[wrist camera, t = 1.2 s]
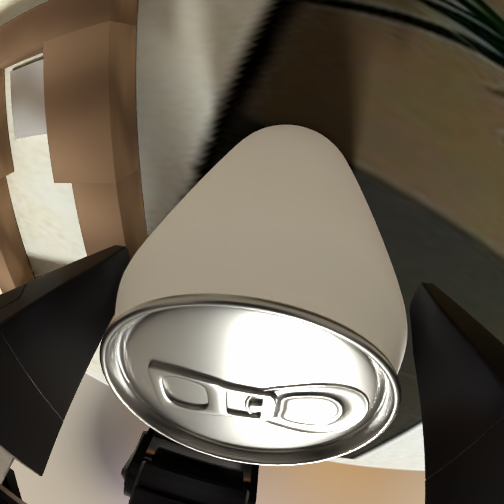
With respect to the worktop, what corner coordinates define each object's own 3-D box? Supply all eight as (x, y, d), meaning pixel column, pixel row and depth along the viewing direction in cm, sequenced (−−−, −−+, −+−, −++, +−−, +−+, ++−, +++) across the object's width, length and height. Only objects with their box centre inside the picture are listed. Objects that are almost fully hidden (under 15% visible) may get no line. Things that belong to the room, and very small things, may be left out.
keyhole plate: (162, 322, 22) (149, 347, 20) (21, 286, 24) (6, 301, 22) (139, -15, 10) (113, -25, 8) (-24, 55, 12) (-47, 59, 10)
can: (340, 250, 16) (357, 476, 6) (223, 236, 17) (128, 438, 7) (361, 132, 13) (498, 299, 3) (224, 118, 14) (31, 239, 4)
